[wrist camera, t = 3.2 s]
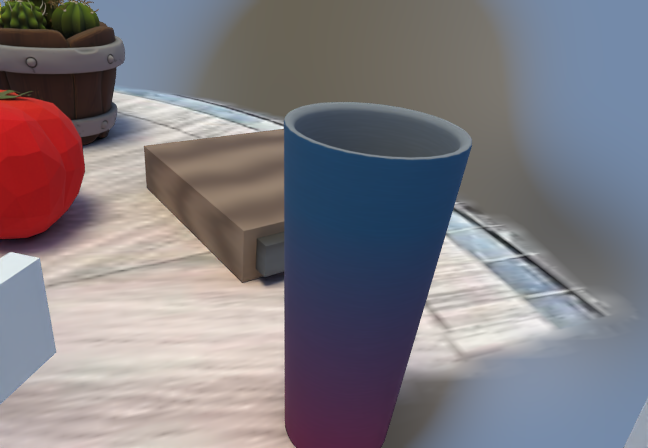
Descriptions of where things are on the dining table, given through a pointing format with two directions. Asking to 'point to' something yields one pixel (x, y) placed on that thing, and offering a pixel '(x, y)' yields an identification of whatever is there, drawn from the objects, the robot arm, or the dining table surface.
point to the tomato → (36, 165)
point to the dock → (227, 196)
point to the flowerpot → (62, 60)
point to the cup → (359, 259)
